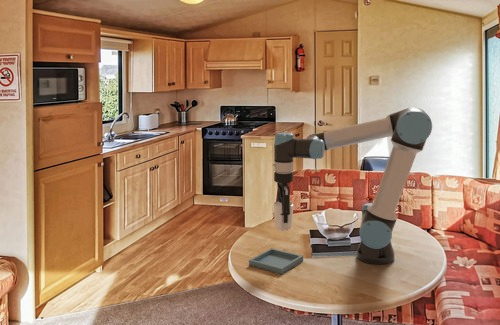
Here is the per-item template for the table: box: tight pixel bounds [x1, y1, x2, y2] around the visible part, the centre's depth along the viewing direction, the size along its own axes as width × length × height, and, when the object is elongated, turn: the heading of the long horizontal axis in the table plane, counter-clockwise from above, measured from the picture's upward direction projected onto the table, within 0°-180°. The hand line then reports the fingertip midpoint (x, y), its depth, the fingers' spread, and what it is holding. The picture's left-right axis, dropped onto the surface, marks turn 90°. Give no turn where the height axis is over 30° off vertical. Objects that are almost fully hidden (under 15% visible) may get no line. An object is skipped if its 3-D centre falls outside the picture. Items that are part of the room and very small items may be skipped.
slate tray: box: [248, 247, 304, 275], centre depth 195 cm, size 16×16×2 cm
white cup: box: [273, 201, 294, 231], centre depth 192 cm, size 8×8×10 cm
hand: (283, 226), depth 193 cm, fingers closed on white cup, 8 cm apart
